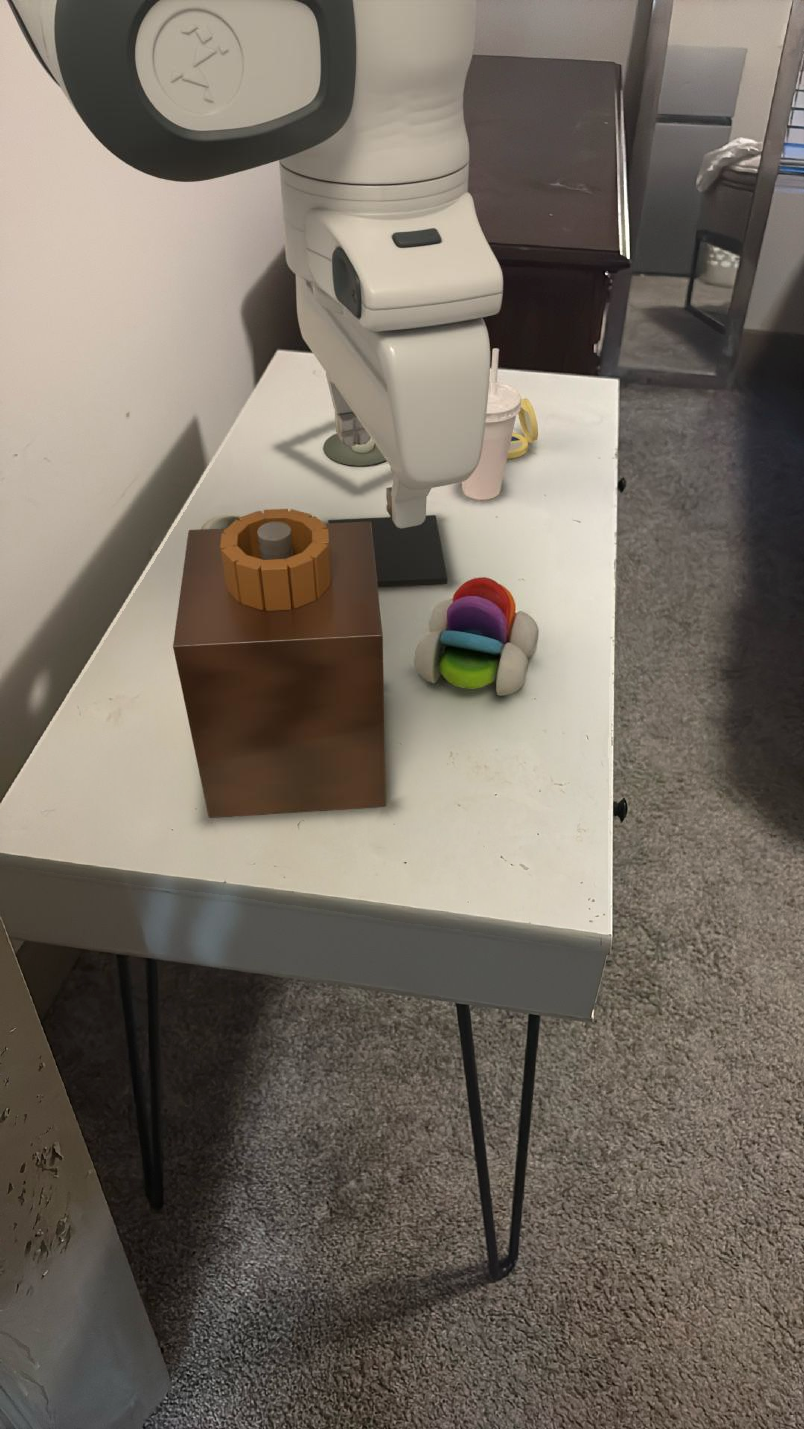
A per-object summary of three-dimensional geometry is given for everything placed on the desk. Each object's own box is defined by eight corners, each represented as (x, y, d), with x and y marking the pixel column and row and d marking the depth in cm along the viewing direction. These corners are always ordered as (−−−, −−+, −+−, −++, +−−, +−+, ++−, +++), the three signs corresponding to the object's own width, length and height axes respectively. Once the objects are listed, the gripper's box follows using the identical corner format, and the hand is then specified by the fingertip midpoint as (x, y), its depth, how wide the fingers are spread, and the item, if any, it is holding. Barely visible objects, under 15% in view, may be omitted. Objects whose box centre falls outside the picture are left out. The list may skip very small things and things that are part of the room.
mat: (331, 589, 86) (331, 583, 85) (328, 525, 93) (328, 519, 93) (447, 583, 86) (447, 577, 86) (435, 520, 94) (435, 514, 93)
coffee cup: (282, 447, 104) (277, 402, 100) (369, 410, 109) (368, 366, 106) (357, 492, 97) (355, 445, 94) (445, 450, 103) (447, 405, 100)
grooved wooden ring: (224, 613, 59) (217, 571, 57) (229, 551, 64) (223, 511, 62) (332, 608, 59) (330, 566, 57) (329, 547, 64) (327, 506, 62)
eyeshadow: (479, 440, 104) (482, 395, 101) (524, 434, 105) (528, 390, 102) (492, 460, 101) (495, 415, 98) (539, 454, 102) (543, 409, 99)
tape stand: (208, 818, 67) (162, 596, 54) (217, 697, 76) (180, 482, 63) (386, 807, 68) (381, 586, 55) (375, 688, 77) (369, 474, 64)
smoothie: (516, 507, 95) (528, 365, 85) (448, 507, 95) (453, 365, 85) (512, 473, 100) (523, 334, 90) (447, 472, 100) (452, 334, 90)
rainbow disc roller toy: (541, 639, 81) (550, 564, 76) (514, 718, 74) (522, 642, 69) (441, 619, 83) (443, 545, 78) (405, 694, 76) (405, 619, 71)
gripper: (259, 169, 55) (279, 407, 64) (380, 310, 41) (383, 586, 50) (369, 159, 56) (372, 392, 66) (521, 290, 42) (498, 562, 52)
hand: (378, 478), depth 58 cm, fingers open, 8 cm apart
